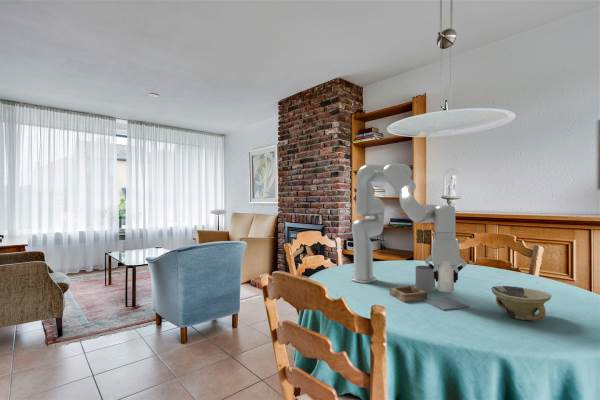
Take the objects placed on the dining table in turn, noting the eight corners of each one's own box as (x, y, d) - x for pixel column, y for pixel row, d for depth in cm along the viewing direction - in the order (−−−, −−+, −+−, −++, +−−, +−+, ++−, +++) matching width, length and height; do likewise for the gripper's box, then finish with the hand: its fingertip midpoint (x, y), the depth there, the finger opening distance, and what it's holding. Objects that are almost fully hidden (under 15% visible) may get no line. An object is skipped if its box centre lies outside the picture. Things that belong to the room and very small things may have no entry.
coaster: (423, 300, 132) (423, 299, 132) (447, 297, 135) (447, 296, 135) (443, 310, 120) (443, 309, 120) (469, 307, 123) (469, 305, 123)
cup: (436, 292, 143) (436, 269, 143) (417, 291, 145) (417, 269, 145) (432, 286, 151) (432, 265, 151) (414, 286, 153) (414, 265, 153)
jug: (437, 287, 131) (436, 258, 131) (453, 288, 129) (452, 258, 129) (438, 293, 123) (438, 262, 123) (455, 294, 121) (455, 262, 121)
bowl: (565, 323, 107) (565, 295, 107) (524, 330, 102) (524, 300, 102) (516, 306, 124) (516, 281, 124) (479, 311, 119) (479, 286, 119)
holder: (389, 294, 140) (389, 287, 140) (411, 292, 143) (411, 285, 143) (404, 302, 130) (404, 295, 130) (427, 299, 133) (427, 292, 133)
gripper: (422, 236, 126) (422, 282, 127) (470, 238, 121) (471, 285, 121) (421, 234, 134) (422, 277, 134) (467, 235, 128) (468, 280, 128)
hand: (445, 281), depth 127 cm, fingers closed on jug, 6 cm apart
